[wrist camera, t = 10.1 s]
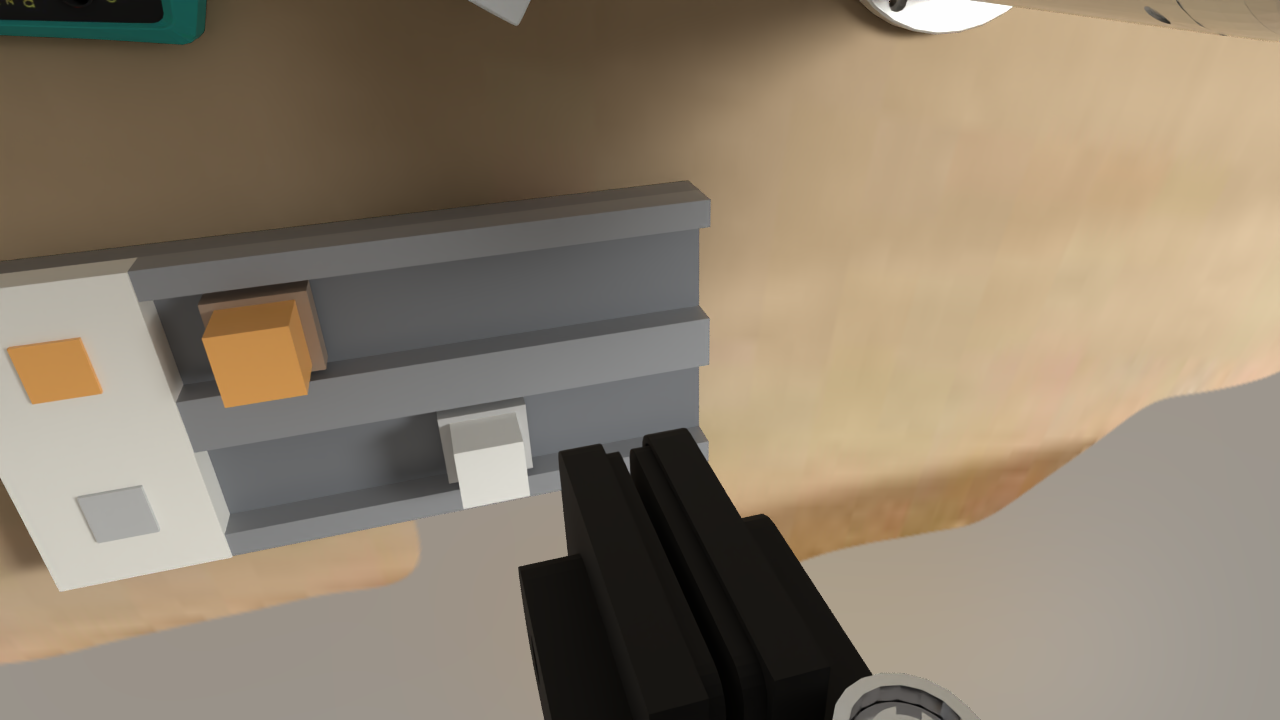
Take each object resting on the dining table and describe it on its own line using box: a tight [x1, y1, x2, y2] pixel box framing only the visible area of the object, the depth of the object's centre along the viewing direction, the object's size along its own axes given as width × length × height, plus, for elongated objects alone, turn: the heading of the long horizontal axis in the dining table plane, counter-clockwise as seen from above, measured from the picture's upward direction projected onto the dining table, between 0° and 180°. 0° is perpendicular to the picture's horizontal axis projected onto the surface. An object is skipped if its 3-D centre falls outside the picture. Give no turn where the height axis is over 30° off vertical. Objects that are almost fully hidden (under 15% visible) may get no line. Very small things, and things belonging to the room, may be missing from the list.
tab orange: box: [198, 280, 328, 408], centre depth 32 cm, size 4×4×4 cm
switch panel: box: [0, 181, 711, 592], centre depth 36 cm, size 30×14×3 cm, turn 92°
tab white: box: [436, 397, 533, 509], centre depth 37 cm, size 4×4×4 cm
